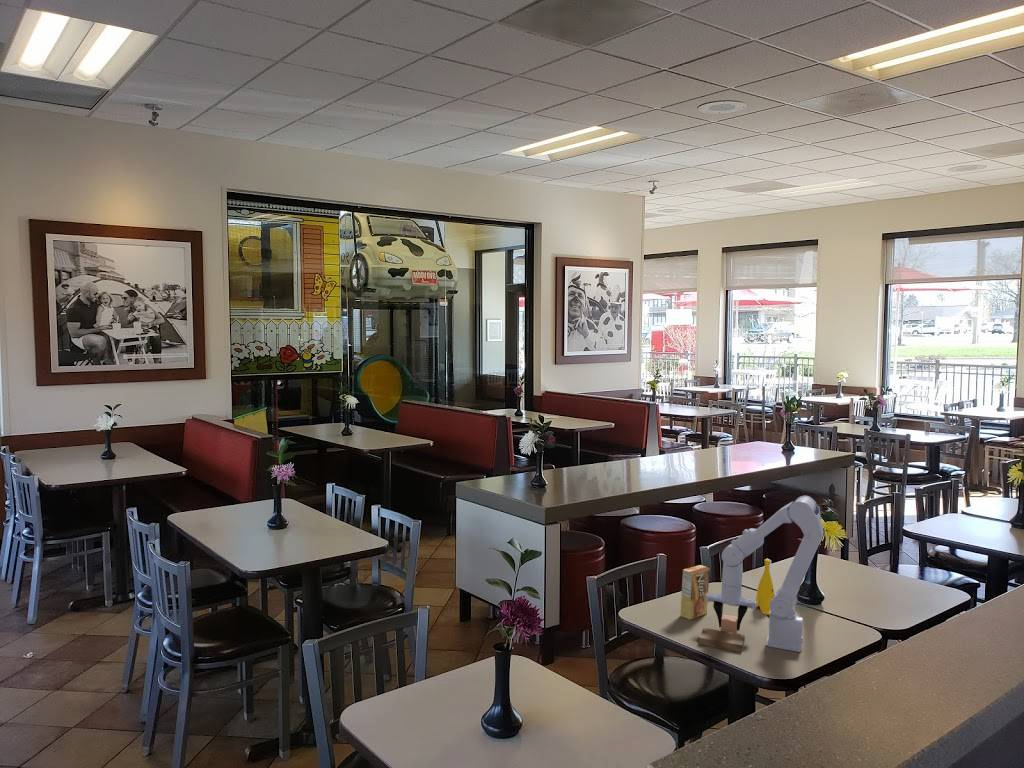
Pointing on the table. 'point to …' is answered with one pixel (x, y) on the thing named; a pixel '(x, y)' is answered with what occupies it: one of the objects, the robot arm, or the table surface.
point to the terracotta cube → (729, 623)
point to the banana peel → (765, 590)
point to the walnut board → (722, 639)
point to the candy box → (694, 591)
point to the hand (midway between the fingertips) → (729, 627)
